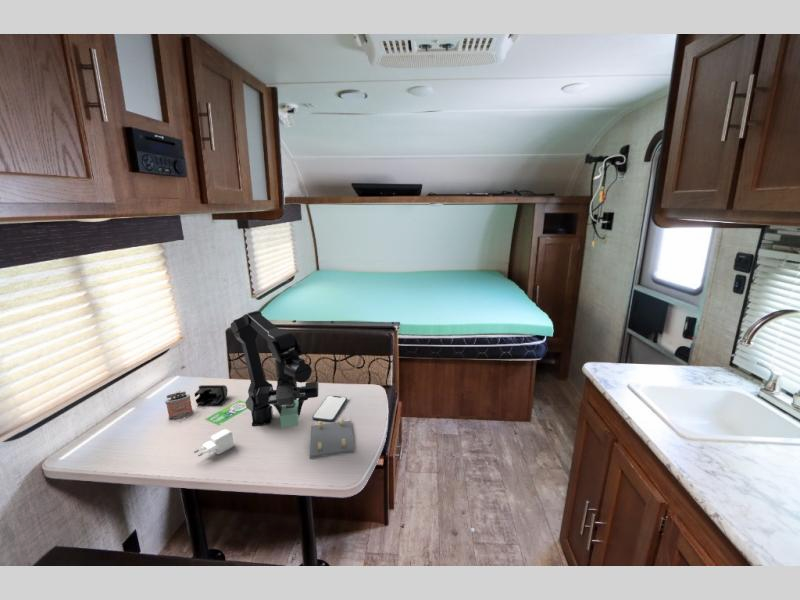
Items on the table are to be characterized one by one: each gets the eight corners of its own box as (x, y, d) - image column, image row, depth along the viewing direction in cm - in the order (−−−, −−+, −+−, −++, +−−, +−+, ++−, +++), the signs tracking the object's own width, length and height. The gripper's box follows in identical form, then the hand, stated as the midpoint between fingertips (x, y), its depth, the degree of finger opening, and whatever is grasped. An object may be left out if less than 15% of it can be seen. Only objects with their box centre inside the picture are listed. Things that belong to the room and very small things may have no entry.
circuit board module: (281, 427, 114) (279, 415, 113) (284, 411, 123) (283, 399, 121) (297, 425, 115) (296, 413, 114) (299, 410, 123) (298, 398, 122)
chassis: (309, 458, 115) (308, 448, 114) (311, 428, 130) (310, 419, 129) (354, 451, 118) (353, 442, 117) (350, 423, 133) (350, 414, 132)
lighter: (192, 409, 143) (188, 387, 140) (193, 414, 140) (189, 390, 137) (168, 416, 138) (163, 393, 136) (169, 421, 136) (164, 397, 133)
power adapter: (201, 466, 112) (198, 450, 111) (194, 460, 115) (191, 444, 114) (235, 447, 121) (233, 431, 119) (228, 441, 124) (225, 426, 122)
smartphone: (333, 424, 134) (348, 400, 149) (333, 420, 133) (348, 397, 148) (311, 421, 135) (328, 398, 150) (310, 417, 135) (327, 394, 150)
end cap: (228, 397, 152) (226, 382, 150) (220, 406, 145) (218, 391, 143) (205, 397, 152) (202, 382, 150) (195, 406, 145) (192, 391, 143)
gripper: (249, 387, 105) (255, 434, 109) (315, 380, 108) (319, 426, 113) (256, 370, 116) (262, 413, 120) (316, 364, 119) (320, 407, 123)
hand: (290, 415), depth 119 cm, fingers closed on circuit board module, 5 cm apart
